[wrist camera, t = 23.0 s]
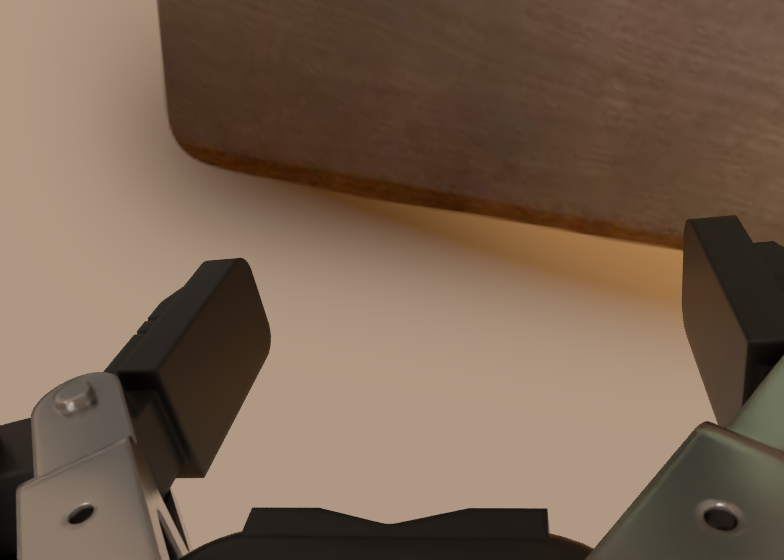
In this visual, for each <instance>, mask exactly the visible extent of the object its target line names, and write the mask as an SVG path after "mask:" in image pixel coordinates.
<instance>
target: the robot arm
mask: <svg viewBox="0 0 784 560" xmlns="http://www.w3.org/2000/svg"><path fill="white" fill-rule="evenodd" d="M682 283H683V284H682V312H683V321H684V327H685V331H686V335H687V338H688V341H689V343H690V346H691V349H692V352H693V355H694V358H695V361H696V363H697V366H698V369H699V372H700V375H701V377H702V380H703V383H704V386H705V389H706V392H707V395H708V397H709V400H710V403H711V405H712V409H713V411H714V414H715V417H716V420H717V423H718V425H716V424H714V423H711V422H708V421H707V422H703V423H701V424H700V425H699V426H697V427H696V428H695V430H694V431H693V432H692V433H691V434H690V435H689V436H688V438H687V439H686V440H685V441H684V442H683V444H682V445H681V446H680V447H679V448H678V450H677V451H676V452H675V453H674V454H673V455H672V457H671V458H670V459H669V460H668V461H667V463H666V464H665V465H664V466H663V468H662V469H661V470H660V471H659V472H658V473H657V475H656V476H655V477H654V478H653V479H652V480H651V482H650V483H649V484H648V485H647V486H646V488H645V489H644V490H643V491H642V492H641V494H640V495H639V496H638V497H637V498H636V499H635V501H634V502H633V503H632V504H631V505H630V507H629V508H628V509H627V510H626V512H625V513H624V514H623V515H622V516H621V518H620V519H619V520H618V521H617V522H616V523H615V525H614V526H613V527H612V528H611V529H610V530H609V532H608V533H607V534H606V535H605V536H604V538H603V539H602V540H601V541H600V542H599V543H598V545H597V546H596V547H595V548H594V549H593V548H591V547H589V546H587V545H585V544H583V543H580V542H577V541H574V540H571V539H568V538H566V537H562V536H557V535H554V534H550V532H549V523H548V512H547V509H526V508H525V509H524V508H523V509H522V508H514V509H513V508H511V509H510V508H506V509H505V508H468V509H464V510H458V511H454V512H449V513H444V514H439V515H434V516H430V517H425V518H420V519H415V520H410V521H406V522H401V523H395V524H384V523H379V522H374V521H371V520H367V519H363V518H358V517H354V516H350V515H346V514H342V513H338V512H334V511H330V510H326V509H322V508H252V509H251V512H250V514H249V517H248V519H247V521H246V524H245V526H244V529H243V531H242V532H238V533H234V534H231V535H228V536H225V537H221V538H219V539H216V540H214V541H211V542H209V543H207V544H204V545H202V546H201V547H199V548H197V549H195V550H193V549H192V546H191V543H190V540H189V537H188V534H187V531H186V527H185V524H184V522H183V518H182V515H181V512H180V509H179V506H178V503H177V500H176V498H175V496H174V494H173V492H172V489H171V485H172V483H173V481H174V480H175V478H204V477H205V475H206V473H207V471H208V470H209V468H210V466H211V464H212V462H213V460H214V458H215V456H216V454H217V452H218V450H219V448H220V447H221V445H222V442H223V441H224V439H225V437H226V435H227V433H228V431H229V429H230V427H231V425H232V423H233V422H234V419H235V418H236V416H237V414H238V412H239V410H240V408H241V406H242V404H243V402H244V400H245V398H246V396H247V395H248V393H249V391H250V389H251V387H252V385H253V383H254V381H255V379H256V377H257V375H258V373H259V371H260V369H261V368H262V366H263V364H264V362H265V360H266V358H267V356H268V354H269V350H270V343H271V334H270V328H269V323H268V320H267V317H266V314H265V310H264V308H263V304H262V301H261V298H260V295H259V292H258V289H257V286H256V283H255V280H254V277H253V274H252V271H251V268H250V266H249V264H248V262H247V261H246V260H244V259H243V258H235V259H223V260H212V261H205V262H203V264H201V266H200V267H199V268H198V269H197V271H196V272H195V273H194V274H193V276H192V277H191V278H190V279H189V281H188V282H187V283H186V284H185V286H184V287H182V288H181V289H179V290H178V291H176V292H175V293H173V294H172V295H171V296H169V297H168V298H166V299H165V300H164V301H162V302H161V303H160V304H159V305H158V307H157V308H156V309H155V310H154V311H153V313H152V314H151V315H150V316H149V318H148V321H145V322H144V323H143V325H142V326H141V327H140V328H139V330H138V331H137V335H134V336H133V337H132V338H131V339H130V341H129V342H128V343H127V344H126V345H125V346H124V348H123V349H122V350H121V351H120V353H119V354H118V355H117V356H116V357H115V358H114V360H113V361H112V362H111V363H110V364H109V366H108V367H107V368H106V369H105V371H104V372H96V373H89V374H85V375H82V376H78V377H76V378H73V379H71V380H68V381H66V382H64V383H63V384H61V385H59V386H57V387H56V388H54V389H53V390H51V391H50V392H49V393H47V394H46V395H45V396H44V397H43V398H42V399H41V400H40V401H39V402H38V403H37V404H36V406H35V407H34V409H33V411H32V414H31V418H28V419H24V420H20V421H16V422H12V423H8V424H5V425H0V560H784V247H782V246H780V245H779V244H777V243H775V242H773V241H771V242H758V243H753V242H752V240H751V238H750V237H749V235H748V234H747V232H746V230H745V229H744V227H743V226H742V224H741V222H740V221H739V219H738V218H737V216H735V215H732V216H720V217H709V218H698V219H688V220H687V221H686V223H685V228H684V249H683V281H682Z"/></svg>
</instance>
